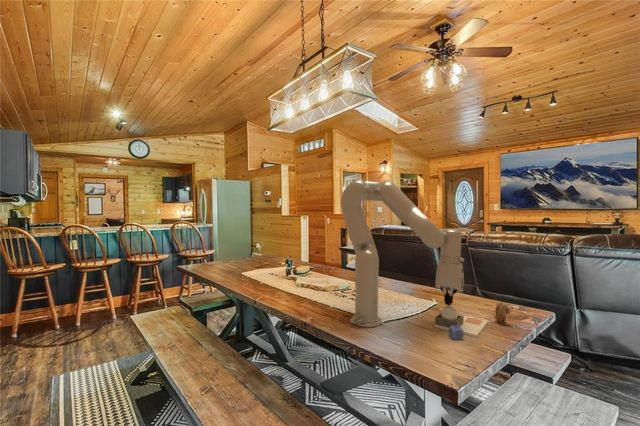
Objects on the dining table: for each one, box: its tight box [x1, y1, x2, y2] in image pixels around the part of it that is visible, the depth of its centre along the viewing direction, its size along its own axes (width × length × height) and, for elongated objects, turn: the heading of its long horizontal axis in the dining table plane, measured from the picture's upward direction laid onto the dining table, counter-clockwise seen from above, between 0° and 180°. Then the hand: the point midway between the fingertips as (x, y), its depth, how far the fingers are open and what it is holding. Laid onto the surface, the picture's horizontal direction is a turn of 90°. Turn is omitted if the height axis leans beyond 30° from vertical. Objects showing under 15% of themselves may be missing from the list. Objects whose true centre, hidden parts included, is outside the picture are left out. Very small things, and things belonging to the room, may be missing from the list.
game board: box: [434, 311, 489, 338], centre depth 134 cm, size 18×16×4 cm
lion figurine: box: [493, 302, 513, 324], centre depth 139 cm, size 15×5×9 cm, turn 163°
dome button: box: [441, 305, 458, 321], centre depth 132 cm, size 6×6×6 cm
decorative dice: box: [448, 326, 465, 341], centre depth 122 cm, size 4×4×4 cm
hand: (448, 304), depth 132 cm, fingers closed
